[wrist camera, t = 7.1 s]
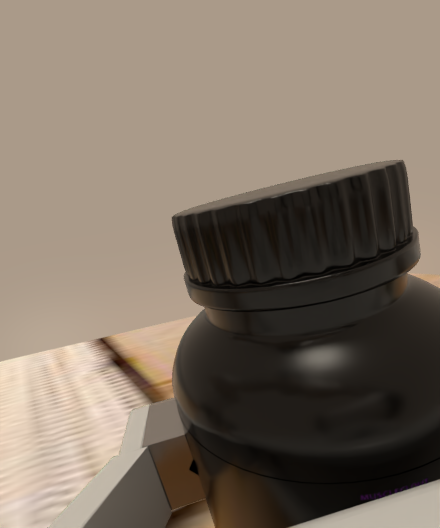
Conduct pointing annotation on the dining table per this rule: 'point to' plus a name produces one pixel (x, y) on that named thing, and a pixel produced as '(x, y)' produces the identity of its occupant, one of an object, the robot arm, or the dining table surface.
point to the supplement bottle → (308, 348)
